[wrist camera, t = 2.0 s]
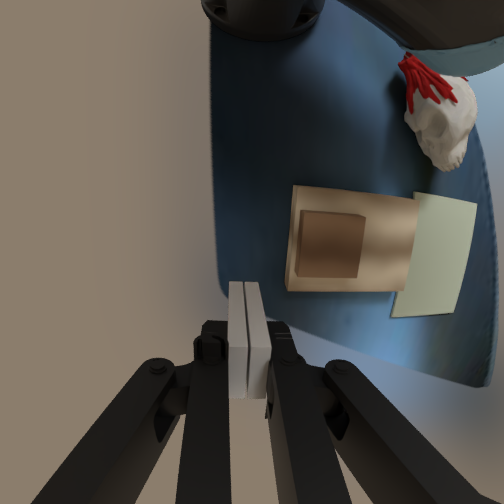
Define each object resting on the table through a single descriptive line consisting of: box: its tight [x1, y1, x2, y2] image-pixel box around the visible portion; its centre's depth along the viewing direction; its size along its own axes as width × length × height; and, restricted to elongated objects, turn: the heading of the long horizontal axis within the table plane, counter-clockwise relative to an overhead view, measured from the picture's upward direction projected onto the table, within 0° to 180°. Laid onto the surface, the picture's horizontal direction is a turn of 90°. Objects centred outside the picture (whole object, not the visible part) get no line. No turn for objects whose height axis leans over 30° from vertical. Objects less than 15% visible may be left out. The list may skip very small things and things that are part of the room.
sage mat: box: [390, 191, 477, 317], centre depth 37 cm, size 18×13×1 cm
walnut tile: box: [294, 210, 366, 278], centre depth 32 cm, size 7×7×2 cm
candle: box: [398, 51, 477, 172], centre depth 27 cm, size 9×11×15 cm
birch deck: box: [284, 185, 420, 292], centre depth 35 cm, size 12×16×2 cm
